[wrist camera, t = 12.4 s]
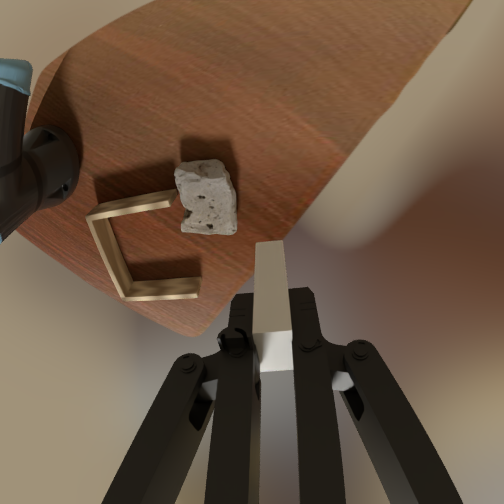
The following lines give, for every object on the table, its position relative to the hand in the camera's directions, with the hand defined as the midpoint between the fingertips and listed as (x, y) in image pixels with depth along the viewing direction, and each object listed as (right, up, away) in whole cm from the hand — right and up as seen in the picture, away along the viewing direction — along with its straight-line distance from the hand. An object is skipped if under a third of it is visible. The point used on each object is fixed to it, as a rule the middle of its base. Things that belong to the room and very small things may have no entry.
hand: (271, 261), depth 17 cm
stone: (-13, +8, +28) cm, 32 cm away
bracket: (-20, +2, +34) cm, 40 cm away
